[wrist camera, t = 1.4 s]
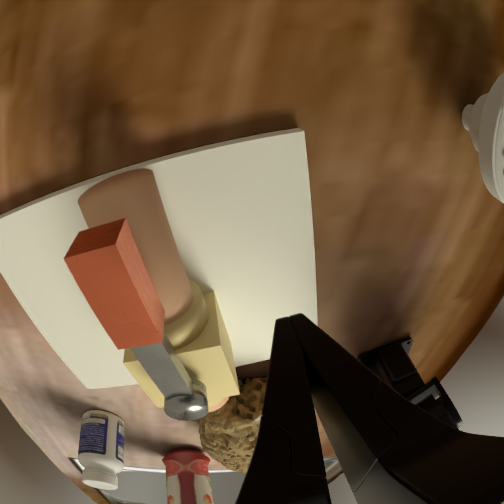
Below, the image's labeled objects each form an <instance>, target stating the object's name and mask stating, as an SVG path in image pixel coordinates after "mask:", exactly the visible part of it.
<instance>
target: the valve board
mask: <svg viewBox="0 0 504 504" xmlns="http://www.w3.org/2000/svg"><path fill="white" fill-rule="evenodd" d="M123 218H126V220H127V222H128V225H129V228H130V230H131V233H132V235H133V238H134V240H135V243H136V245H137V248H138V250H139V253H140V255H141V258H142V260H143V262H144V265H145V267H146V269H147V272H148V274H149V276H150V279H151V281H152V283H153V285H154V288H155V290H156V292H157V294H158V297H159V299H160V301H161V303H162V305H163V307H164V310H165V318H164V331H165V333H166V335H167V337H168V339H169V340H170V342H171V344H172V346H173V348H174V350H175V352H176V353H177V355H178V357H179V359H180V361H181V363H182V364H183V366H184V368H185V370H186V371H187V373H188V375H189V377H190V378H193V379H197V380H199V381H201V382H202V383H204V384H205V386H206V391H207V400H208V410H209V411H208V412H212V411H215V410H217V409H219V408H221V407H222V406H223V405H224V404H225V403H226V402H227V401H228V399H229V396H234V395H239V394H240V392H239V386H238V380H237V375H236V369H235V367H238V366H242V365H247V364H251V363H255V362H260V361H264V360H268V359H270V354H271V347H272V340H273V333H274V326H275V321H276V319H278V318H282V317H286V316H288V317H289V316H290V315H294V314H298V313H302V314H304V315H305V316H306V317H307V318H309V319H310V320H311V321H312V322H313V323H314V324H316V325H317V326H318V323H317V292H316V269H315V251H314V235H313V220H312V207H311V195H310V183H309V173H308V162H307V153H306V143H305V135H304V131H303V130H301V129H300V128H294V129H288V130H282V131H276V132H270V133H264V134H259V135H253V136H248V137H243V138H238V139H233V140H229V141H224V142H219V143H215V144H210V145H206V146H202V147H198V148H194V149H189V150H185V151H182V152H178V153H174V154H170V155H166V156H163V157H159V158H155V159H152V160H148V161H145V162H141V163H138V164H135V165H131V166H128V167H125V168H122V169H118V170H115V171H112V172H109V173H106V174H103V175H100V176H97V177H94V178H91V179H88V180H85V181H83V182H80V183H77V184H74V185H72V186H69V187H66V188H64V189H61V190H58V191H56V192H53V193H51V194H48V195H46V196H43V197H41V198H38V199H36V200H33V201H31V202H28V203H26V204H24V205H21V206H19V207H17V208H15V209H12V210H10V211H8V212H6V213H3V214H1V215H0V272H1V274H2V275H3V277H4V279H5V280H6V282H7V284H8V285H9V287H10V289H11V290H12V292H13V293H14V295H15V296H16V298H17V299H18V301H19V302H20V304H21V305H22V307H23V308H24V310H25V311H26V313H27V314H28V316H29V317H30V319H31V320H32V321H33V323H34V324H35V326H36V327H37V328H38V330H39V331H40V332H41V334H42V335H43V336H44V338H45V339H46V340H47V342H48V343H49V344H50V345H51V347H52V348H53V349H54V350H55V352H56V353H57V354H58V355H59V357H60V358H61V359H62V360H63V361H64V363H65V364H66V365H67V366H68V367H69V368H70V370H71V371H72V372H73V373H74V374H75V375H76V376H77V378H78V379H79V380H80V381H81V382H82V383H83V384H84V385H85V386H86V387H87V389H95V388H106V387H116V386H124V385H133V384H139V385H140V386H141V387H142V389H143V390H144V391H145V392H146V394H147V395H148V396H149V397H150V399H151V400H152V401H153V402H154V403H155V405H156V406H157V407H158V408H161V407H164V395H163V394H162V393H161V391H160V390H159V389H158V387H157V386H156V385H155V383H154V382H153V380H152V379H151V378H150V376H149V375H148V374H147V372H146V371H145V369H144V368H143V366H142V365H141V363H140V362H139V361H138V359H137V358H136V356H135V355H134V353H133V352H132V350H131V349H130V348H127V349H121V350H118V349H117V347H116V346H115V344H114V343H113V341H112V340H111V338H110V337H109V335H108V334H107V332H106V331H105V329H104V328H103V326H102V325H101V323H100V321H99V320H98V318H97V317H96V315H95V313H94V312H93V310H92V309H91V307H90V305H89V304H88V302H87V300H86V299H85V297H84V295H83V293H82V292H81V290H80V288H79V286H78V285H77V283H76V281H75V279H74V277H73V276H72V274H71V272H70V270H69V268H68V266H67V264H66V263H65V261H64V257H65V255H66V253H67V252H68V250H69V248H70V246H71V244H72V243H73V241H74V239H75V237H76V236H77V234H78V232H79V231H83V230H86V229H89V228H92V227H96V226H99V225H102V224H106V223H109V222H113V221H116V220H120V219H123Z"/></svg>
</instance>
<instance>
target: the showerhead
mask: <svg viewBox="0 0 504 504" xmlns="http://www.w3.org/2000/svg"><path fill="white" fill-rule="evenodd" d="M462 124H463V126H464V128H465V129H466V130H468V131H470V136H471V140H472V143H473V145H474V147H475V149H476V150H477V151H478V152H479V165H480V170H481V174H482V178H483V181H484V183H485V185H486V187H487V189H488V190H489V192H490V193H491V194H492V195H493V196H494V197H496V198H497V199H498V200H500V201H501V202H502V203H504V73H502V74H501V75H500V76H499V77H498V78H497V80H496V81H495V83H494V84H493V86H492V88H491V89H490V91H489V93H486V94H484V95H482V96H480V97H479V98H478V100H477V101H476V103H475V104H474V105H472V104H469V105H467V106H466V107H465V108H464V110H463V112H462Z"/></svg>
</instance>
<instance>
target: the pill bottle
mask: <svg viewBox="0 0 504 504" xmlns="http://www.w3.org/2000/svg"><path fill="white" fill-rule="evenodd" d="M124 428H125V425H124V422H123V420H122V419H121V418H119V417H118V416H116V415H114V414H112V413H109V412H106V411H101V410H90V411H87V412H85V413H84V414H83V417H82V424H81V432H80V441H79V451H78V460H79V462H80V464H81V465H82V466H83V467H85V469H84V470H83V475H82V482H83V483H84V484H86V485H89V486H91V487H95V488H99V489H105V490H116V489H117V488H118V477H117V476H116V473H119V472H121V471H122V469H123V464H124Z"/></svg>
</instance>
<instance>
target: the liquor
mask: <svg viewBox="0 0 504 504" xmlns="http://www.w3.org/2000/svg"><path fill="white" fill-rule="evenodd" d="M162 461H163V463H164V464H165V466H166V487H167V504H214V501H213V496H212V491H211V485H210V479H209V472H208V464H209V462H210V459H209V458H208V457H207V456H205V455H204V454H203V453H201V452H200V451H198V450H195V449H189V448H181V449H175V450H173V451H171V452H170V453H169V454H168V455H166V456H165V457H164V458H163V459H162Z"/></svg>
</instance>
